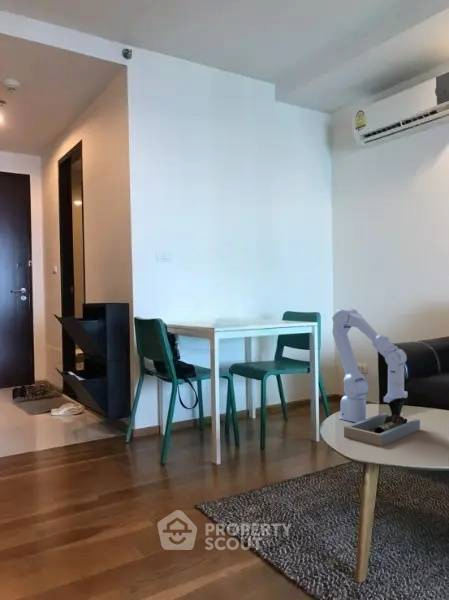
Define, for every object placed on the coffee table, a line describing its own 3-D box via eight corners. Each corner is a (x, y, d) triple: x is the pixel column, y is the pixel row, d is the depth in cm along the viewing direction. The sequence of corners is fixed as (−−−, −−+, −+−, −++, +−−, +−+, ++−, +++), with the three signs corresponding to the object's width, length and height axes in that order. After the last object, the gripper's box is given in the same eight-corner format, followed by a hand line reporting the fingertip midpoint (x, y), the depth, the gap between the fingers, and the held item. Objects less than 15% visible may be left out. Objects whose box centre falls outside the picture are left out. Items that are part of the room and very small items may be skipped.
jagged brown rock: (386, 441, 160) (386, 424, 160) (368, 437, 165) (368, 421, 164) (411, 430, 172) (410, 415, 172) (393, 426, 177) (393, 411, 177)
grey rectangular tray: (344, 436, 164) (344, 426, 164) (384, 421, 183) (384, 412, 183) (380, 446, 154) (380, 435, 154) (419, 429, 173) (419, 420, 173)
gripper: (396, 386, 167) (396, 424, 167) (415, 381, 177) (415, 417, 177) (378, 383, 172) (378, 420, 172) (397, 378, 182) (397, 413, 182)
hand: (395, 418), depth 175 cm, fingers closed
